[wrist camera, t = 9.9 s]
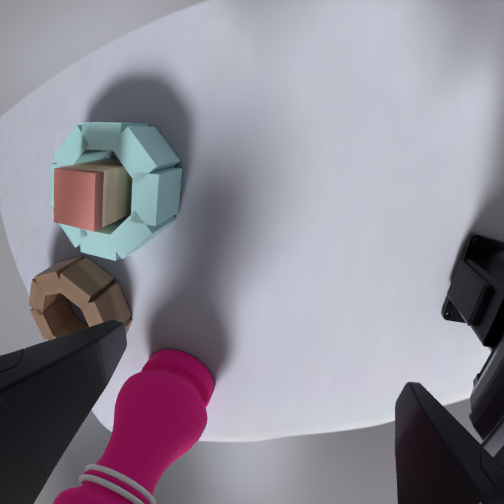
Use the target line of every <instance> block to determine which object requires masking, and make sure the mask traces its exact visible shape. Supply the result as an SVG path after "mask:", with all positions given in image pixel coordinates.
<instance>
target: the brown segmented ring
mask: <svg viewBox="0 0 504 504" xmlns="http://www.w3.org/2000/svg"><path fill="white" fill-rule="evenodd" d="M113 280H114V276H112V275H111V274H110V273H108V272H107V271H105V270H104V269H103V268H101V267H100V266H99V265H97V264H96V263H95V262H93V261H92V260H91V259H89V258H88V257H86V258H84V259H83V256H79V257H75V258H71V259H67V260H63V261H60V262H58V263H56V264H55V265H53V266H51V267H50V268H48V269H46V270H45V271H43V272H41V273H40V274H38V275H36V276H35V278H34V279H33V280H32V285H31V292H30V300H29V305H30V306H31V307H32V309H31V310H30V311H31V313H32V315H33V317H34V320H35V322H36V324H37V326H38V328H39V330H40V332H41V334H42V336H43V338H44V339H48V341H49V340H52V339H55V338H58V337H61V336H64V335H67V334H70V333H73V332H76V331H79V330H82V329H85V328H88V326H87V325H85V324H84V323H83V322H82V321H80V320H79V319H78V318H76V317H75V316H74V313H73V311H72V309H71V307H70V304H69V302H68V300H67V298H68V299H69V300H70V301H72V302H73V303H74V304H75V305H77V306H78V307H79V308H80V309H81V310H82V312H83V314H84V317H85V319H86V321H87V323H88V325H89V327H91V326H94V325H97V324H100V323H103V322H106V321H109V320H112V319H115V320H118V321H121V322H123V323H124V324H125V327H126V334H127V331H128V329H129V327H130V324H131V322H132V320H131V319H129V318H130V317H131V316H132V314H131V312H130V310H129V307H128V305H127V302H126V300H125V297H124V295H123V292H122V290H121V287H120V285H119V282H117V283H113Z"/></svg>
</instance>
